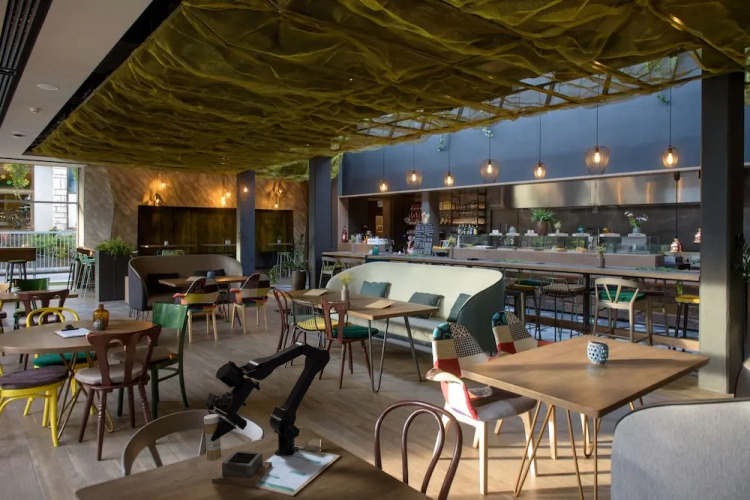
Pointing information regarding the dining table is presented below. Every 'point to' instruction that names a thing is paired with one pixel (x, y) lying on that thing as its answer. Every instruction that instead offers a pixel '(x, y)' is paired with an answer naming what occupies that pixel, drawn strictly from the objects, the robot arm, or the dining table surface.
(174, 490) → the dining table surface
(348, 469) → the dining table surface
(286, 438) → the robot arm
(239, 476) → the socket board
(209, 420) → the sprinkles bottle
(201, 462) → the dining table surface
